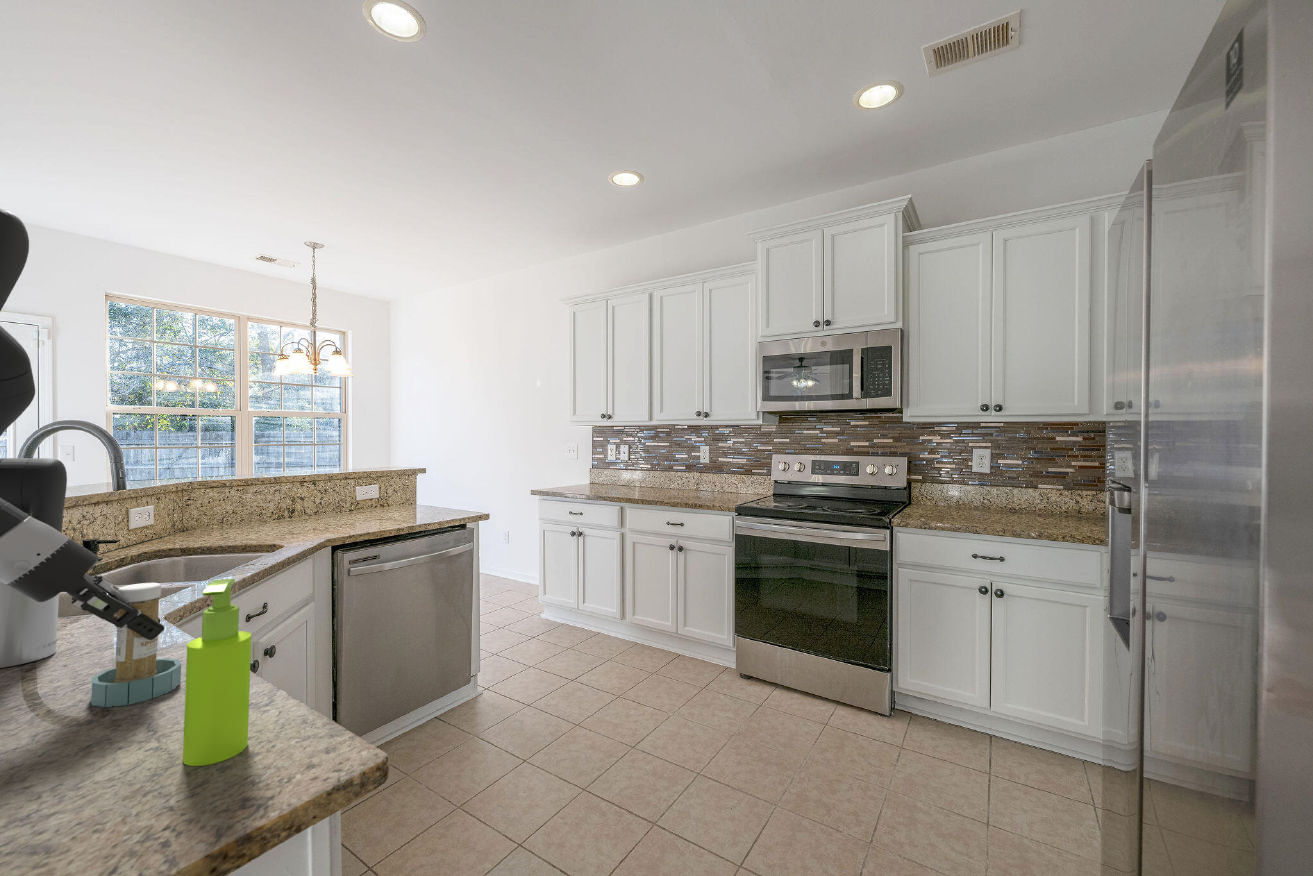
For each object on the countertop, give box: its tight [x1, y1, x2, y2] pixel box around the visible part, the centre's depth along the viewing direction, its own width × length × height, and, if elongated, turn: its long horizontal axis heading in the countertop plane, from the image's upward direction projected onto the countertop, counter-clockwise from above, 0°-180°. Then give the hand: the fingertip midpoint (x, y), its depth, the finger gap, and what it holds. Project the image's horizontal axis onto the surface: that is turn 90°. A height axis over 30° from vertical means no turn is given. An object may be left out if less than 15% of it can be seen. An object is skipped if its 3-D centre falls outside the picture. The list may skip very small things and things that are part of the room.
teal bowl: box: [90, 657, 182, 708], centre depth 78 cm, size 9×9×3 cm
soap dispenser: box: [182, 578, 252, 767], centre depth 63 cm, size 6×7×20 cm
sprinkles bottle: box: [114, 582, 162, 683], centre depth 78 cm, size 5×5×13 cm
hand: (156, 629), depth 79 cm, fingers closed on sprinkles bottle, 4 cm apart
